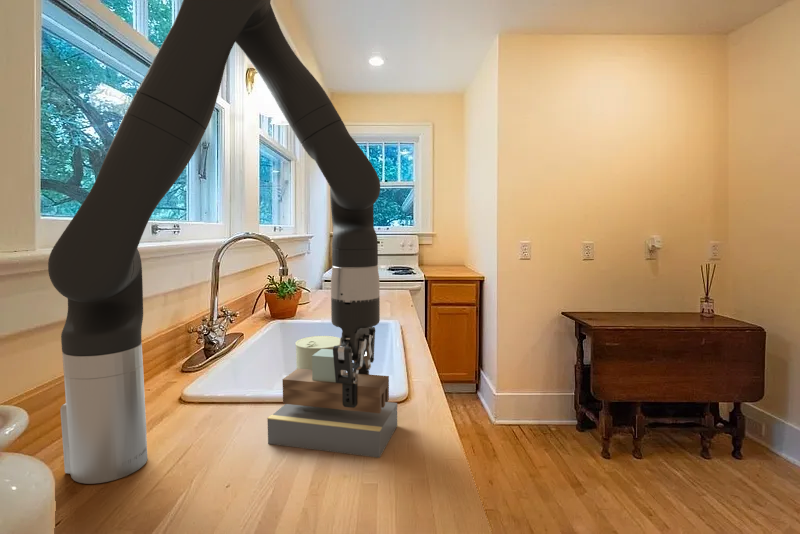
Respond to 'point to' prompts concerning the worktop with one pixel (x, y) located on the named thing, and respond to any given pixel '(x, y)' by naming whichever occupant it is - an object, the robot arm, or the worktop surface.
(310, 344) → the can
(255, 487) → the worktop surface
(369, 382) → the board
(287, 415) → the dock
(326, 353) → the pale green cube
